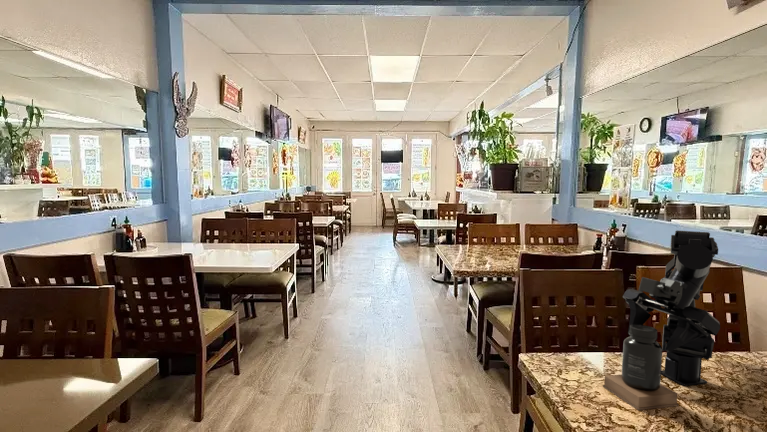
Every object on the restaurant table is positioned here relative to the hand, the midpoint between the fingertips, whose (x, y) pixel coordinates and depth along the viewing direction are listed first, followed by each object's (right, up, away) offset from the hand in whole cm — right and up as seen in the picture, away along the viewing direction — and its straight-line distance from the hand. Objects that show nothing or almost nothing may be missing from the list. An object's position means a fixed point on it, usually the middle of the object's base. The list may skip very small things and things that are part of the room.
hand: (647, 342), depth 87 cm
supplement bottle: (-4, -8, -4) cm, 9 cm away
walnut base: (-4, -10, -4) cm, 11 cm away
